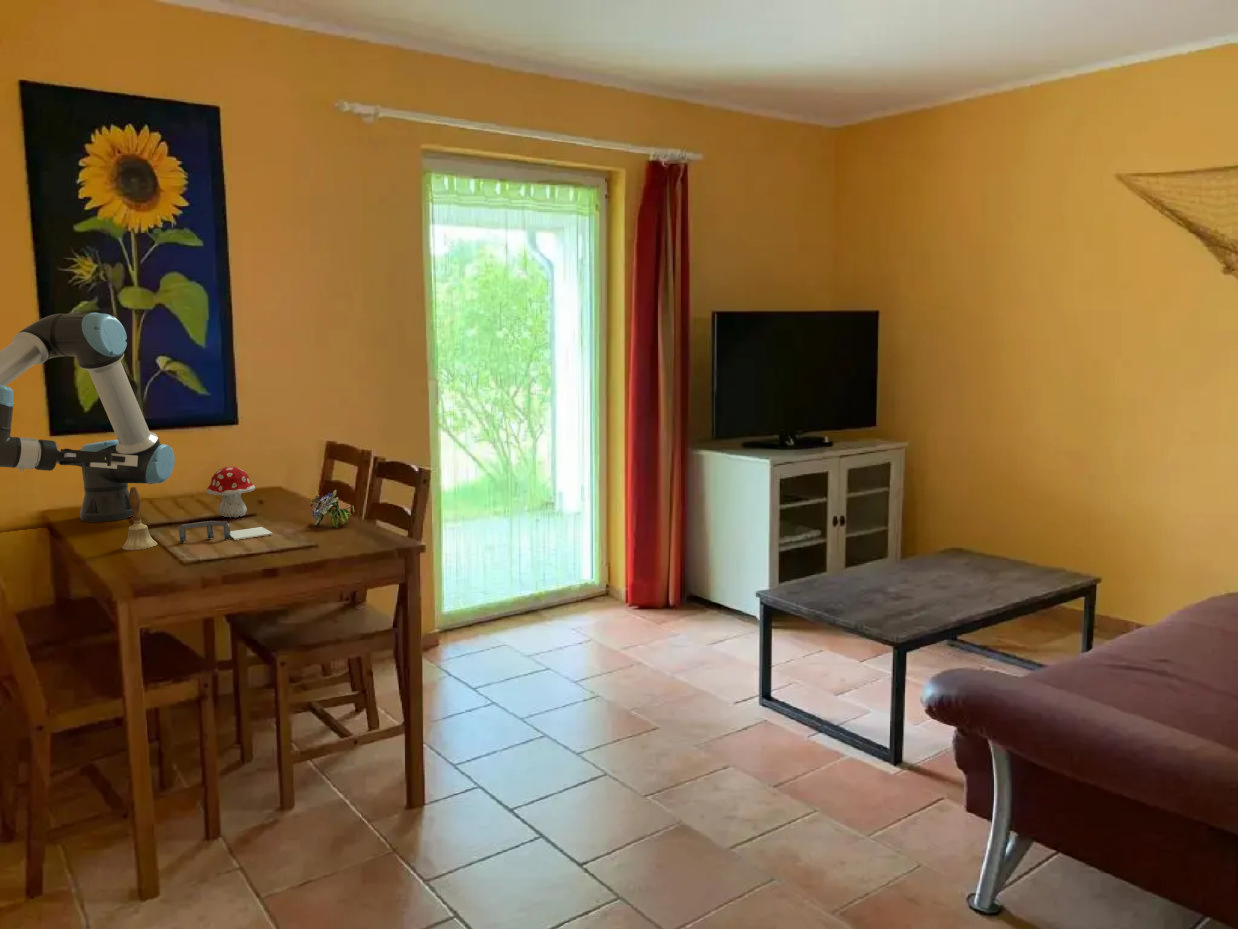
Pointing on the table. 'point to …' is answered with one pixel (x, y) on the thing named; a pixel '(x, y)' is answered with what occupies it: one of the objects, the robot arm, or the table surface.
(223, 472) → the decorative mushroom
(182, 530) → the gray stand
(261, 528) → the pad
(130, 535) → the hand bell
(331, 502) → the passion flower
